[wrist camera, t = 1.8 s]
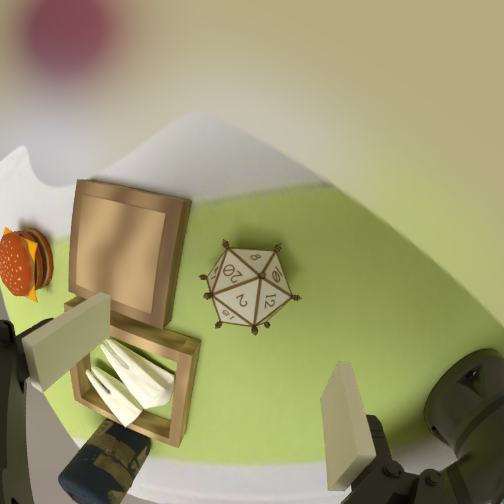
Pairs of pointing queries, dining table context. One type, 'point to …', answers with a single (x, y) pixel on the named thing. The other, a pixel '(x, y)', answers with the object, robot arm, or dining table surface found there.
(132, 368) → the white folded napkins
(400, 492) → the robot arm
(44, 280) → the hamburger
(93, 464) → the canister
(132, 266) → the walnut board
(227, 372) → the dining table surface
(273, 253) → the game die
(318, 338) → the dining table surface
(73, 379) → the oak frame
